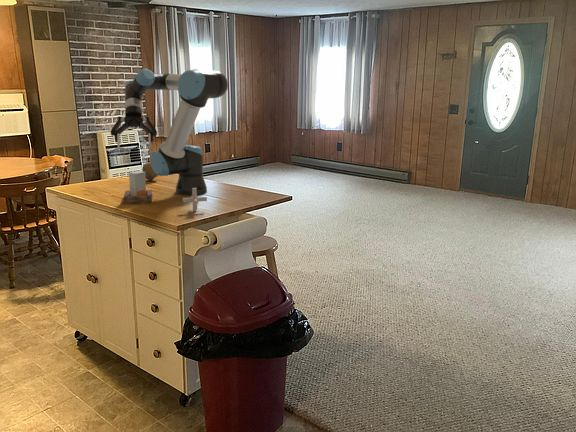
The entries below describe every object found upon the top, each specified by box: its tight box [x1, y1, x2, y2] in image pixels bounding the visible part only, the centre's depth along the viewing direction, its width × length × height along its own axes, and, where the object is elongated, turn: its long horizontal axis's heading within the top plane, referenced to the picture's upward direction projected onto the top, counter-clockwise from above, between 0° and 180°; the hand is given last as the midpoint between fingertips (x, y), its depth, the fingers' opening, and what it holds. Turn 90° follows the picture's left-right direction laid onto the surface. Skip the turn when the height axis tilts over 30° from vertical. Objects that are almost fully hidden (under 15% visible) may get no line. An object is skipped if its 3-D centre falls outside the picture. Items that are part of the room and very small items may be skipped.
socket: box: [122, 189, 153, 205], centre depth 231 cm, size 12×14×3 cm
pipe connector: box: [182, 188, 208, 212], centre depth 213 cm, size 10×10×10 cm
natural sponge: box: [141, 161, 159, 181], centre depth 272 cm, size 9×9×10 cm
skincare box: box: [128, 170, 147, 196], centre depth 229 cm, size 6×4×12 cm
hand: (134, 147), depth 226 cm, fingers open, 13 cm apart
